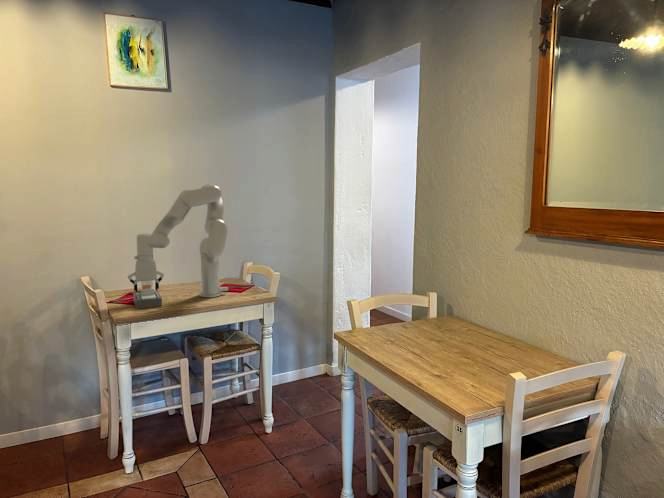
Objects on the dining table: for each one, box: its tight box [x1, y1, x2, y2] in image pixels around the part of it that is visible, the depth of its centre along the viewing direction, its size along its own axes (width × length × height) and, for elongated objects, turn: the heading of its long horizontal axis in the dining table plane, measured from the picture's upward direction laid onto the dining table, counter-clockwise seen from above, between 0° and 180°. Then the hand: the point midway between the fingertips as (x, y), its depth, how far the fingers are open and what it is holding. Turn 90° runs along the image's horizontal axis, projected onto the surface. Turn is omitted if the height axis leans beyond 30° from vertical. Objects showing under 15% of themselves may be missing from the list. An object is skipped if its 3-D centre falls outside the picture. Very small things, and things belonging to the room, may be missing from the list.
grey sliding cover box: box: [133, 290, 163, 310], centre depth 244 cm, size 12×16×5 cm
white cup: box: [140, 280, 156, 291], centre depth 269 cm, size 8×8×10 cm
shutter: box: [140, 288, 156, 300], centre depth 238 cm, size 6×6×4 cm
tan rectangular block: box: [141, 284, 151, 289], centre depth 246 cm, size 4×4×9 cm
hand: (146, 291), depth 246 cm, fingers open, 9 cm apart
